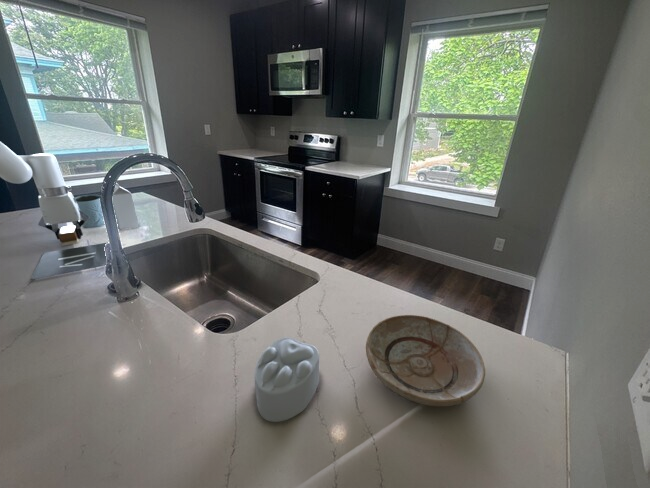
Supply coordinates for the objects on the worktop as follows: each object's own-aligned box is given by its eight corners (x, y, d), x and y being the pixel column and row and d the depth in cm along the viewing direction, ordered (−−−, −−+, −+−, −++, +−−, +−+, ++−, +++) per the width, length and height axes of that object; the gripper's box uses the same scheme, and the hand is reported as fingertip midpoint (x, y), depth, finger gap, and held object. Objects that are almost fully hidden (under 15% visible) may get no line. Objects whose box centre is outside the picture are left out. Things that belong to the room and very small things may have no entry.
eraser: (78, 243, 109) (73, 231, 107) (62, 245, 107) (57, 234, 105) (80, 235, 115) (76, 224, 113) (65, 237, 113) (61, 226, 111)
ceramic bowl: (360, 328, 74) (361, 311, 72) (454, 332, 74) (459, 316, 72) (369, 415, 53) (372, 396, 51) (502, 422, 53) (510, 403, 51)
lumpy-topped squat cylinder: (324, 376, 61) (326, 344, 57) (292, 433, 50) (291, 398, 46) (281, 358, 64) (279, 327, 61) (242, 408, 54) (238, 374, 50)
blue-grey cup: (103, 218, 135) (96, 193, 130) (113, 224, 130) (105, 197, 125) (76, 225, 128) (67, 198, 123) (86, 231, 122) (76, 203, 117)
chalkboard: (31, 283, 87) (30, 280, 87) (44, 255, 103) (43, 252, 102) (112, 266, 97) (111, 264, 97) (113, 244, 112) (113, 241, 112)
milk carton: (135, 222, 132) (124, 180, 124) (140, 227, 128) (129, 183, 120) (116, 226, 128) (104, 182, 120) (120, 231, 123) (108, 186, 115)
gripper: (84, 186, 110) (99, 231, 118) (23, 191, 102) (43, 239, 109) (82, 191, 104) (98, 238, 112) (17, 197, 96) (39, 247, 104)
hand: (71, 238), depth 111 cm, fingers closed on eraser, 4 cm apart
